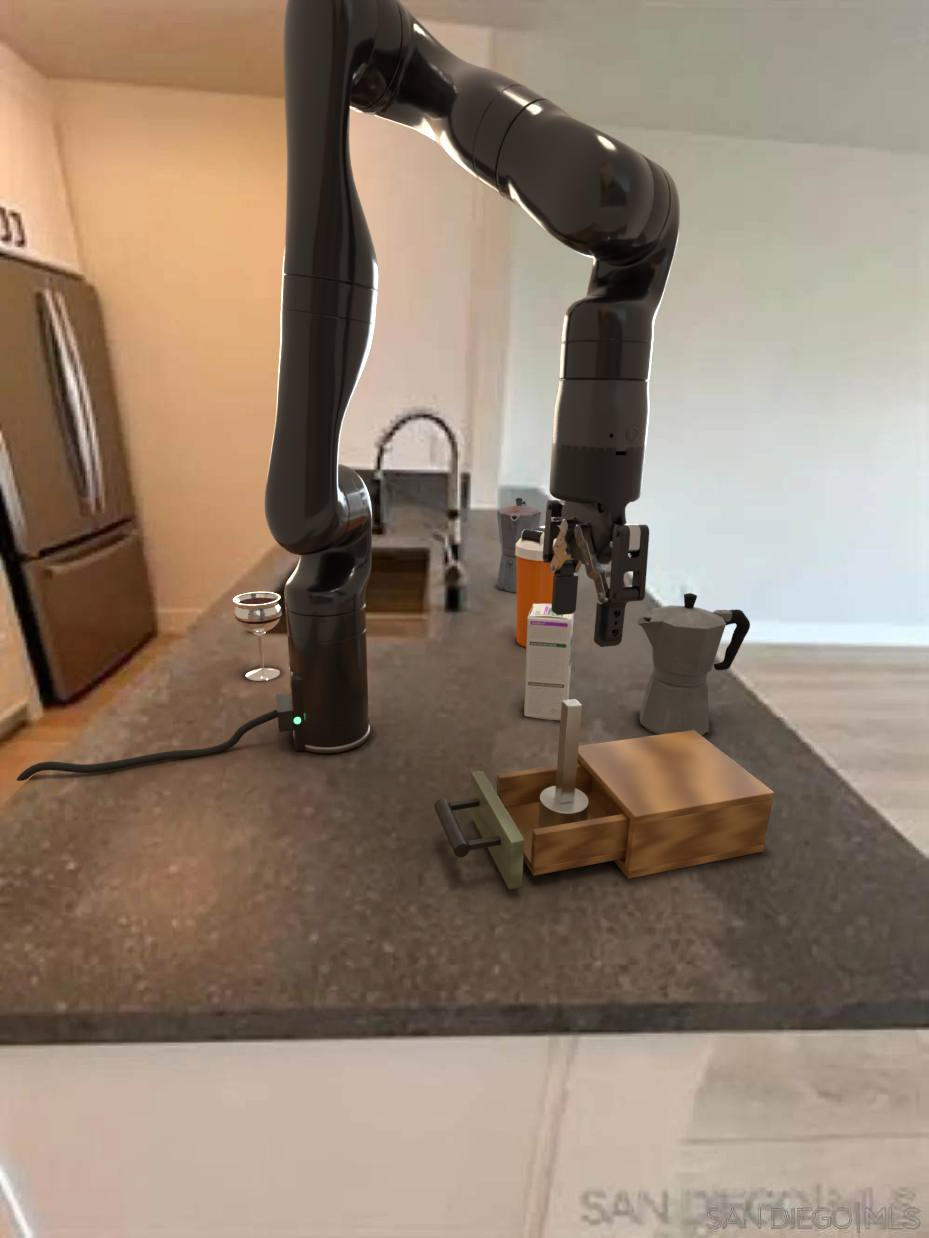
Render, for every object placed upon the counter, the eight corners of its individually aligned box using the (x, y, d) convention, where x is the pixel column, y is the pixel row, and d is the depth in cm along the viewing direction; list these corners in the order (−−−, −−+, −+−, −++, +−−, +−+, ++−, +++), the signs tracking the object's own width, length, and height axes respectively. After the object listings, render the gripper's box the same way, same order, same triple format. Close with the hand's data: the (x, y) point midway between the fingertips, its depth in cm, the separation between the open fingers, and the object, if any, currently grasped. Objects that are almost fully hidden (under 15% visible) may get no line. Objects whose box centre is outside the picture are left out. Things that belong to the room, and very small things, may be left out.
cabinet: (627, 879, 60) (635, 816, 58) (568, 801, 72) (572, 746, 70) (763, 851, 65) (774, 792, 62) (686, 781, 76) (693, 729, 74)
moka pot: (490, 594, 144) (493, 501, 138) (498, 576, 159) (502, 491, 152) (534, 597, 143) (540, 503, 136) (539, 579, 157) (544, 493, 151)
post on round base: (549, 844, 62) (559, 717, 58) (530, 815, 66) (538, 694, 62) (594, 836, 63) (607, 710, 59) (573, 808, 67) (583, 689, 63)
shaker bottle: (570, 639, 119) (579, 527, 112) (548, 655, 112) (556, 536, 105) (525, 630, 123) (531, 521, 117) (501, 644, 116) (506, 529, 110)
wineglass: (260, 662, 106) (254, 589, 102) (295, 670, 104) (290, 595, 100) (229, 677, 100) (222, 600, 97) (265, 686, 98) (259, 608, 94)
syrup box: (566, 722, 89) (574, 618, 85) (522, 717, 90) (527, 614, 86) (568, 703, 94) (576, 605, 90) (526, 699, 96) (532, 601, 91)
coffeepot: (642, 744, 84) (658, 607, 78) (612, 710, 93) (625, 584, 87) (753, 735, 87) (777, 602, 81) (714, 703, 95) (733, 581, 90)
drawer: (460, 899, 56) (461, 851, 55) (428, 819, 67) (428, 777, 65) (647, 862, 61) (653, 817, 60) (590, 793, 72) (594, 754, 70)
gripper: (522, 434, 60) (515, 607, 65) (599, 447, 47) (582, 662, 52) (598, 434, 62) (585, 602, 67) (691, 446, 49) (666, 653, 54)
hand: (584, 628), depth 60 cm, fingers open, 8 cm apart
